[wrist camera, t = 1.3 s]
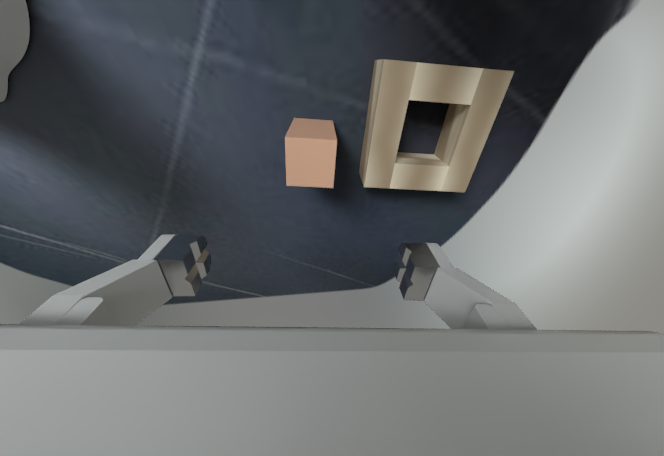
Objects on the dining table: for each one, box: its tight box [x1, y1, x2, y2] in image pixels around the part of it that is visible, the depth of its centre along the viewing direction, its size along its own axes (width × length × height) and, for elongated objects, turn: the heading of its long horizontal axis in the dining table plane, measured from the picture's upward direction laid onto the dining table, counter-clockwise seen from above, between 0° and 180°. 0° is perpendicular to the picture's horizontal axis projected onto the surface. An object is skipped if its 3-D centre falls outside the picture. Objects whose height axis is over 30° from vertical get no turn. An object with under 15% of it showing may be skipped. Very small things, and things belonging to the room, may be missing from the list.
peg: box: [285, 118, 337, 188], centre depth 23 cm, size 4×4×8 cm
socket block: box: [359, 59, 514, 192], centre depth 25 cm, size 11×11×4 cm
